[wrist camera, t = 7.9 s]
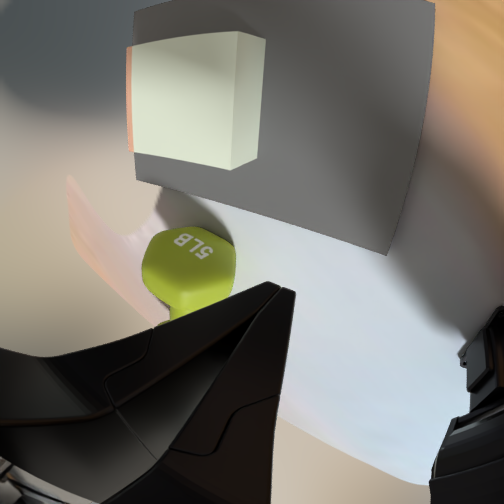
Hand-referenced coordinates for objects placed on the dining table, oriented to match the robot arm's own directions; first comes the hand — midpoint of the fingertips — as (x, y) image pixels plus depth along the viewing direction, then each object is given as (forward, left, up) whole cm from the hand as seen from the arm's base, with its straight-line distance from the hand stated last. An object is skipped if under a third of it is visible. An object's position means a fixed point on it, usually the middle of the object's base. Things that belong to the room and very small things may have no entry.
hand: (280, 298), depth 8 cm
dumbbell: (+12, +15, -12) cm, 23 cm away
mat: (+8, -4, -12) cm, 15 cm away
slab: (+7, -4, -10) cm, 12 cm away
